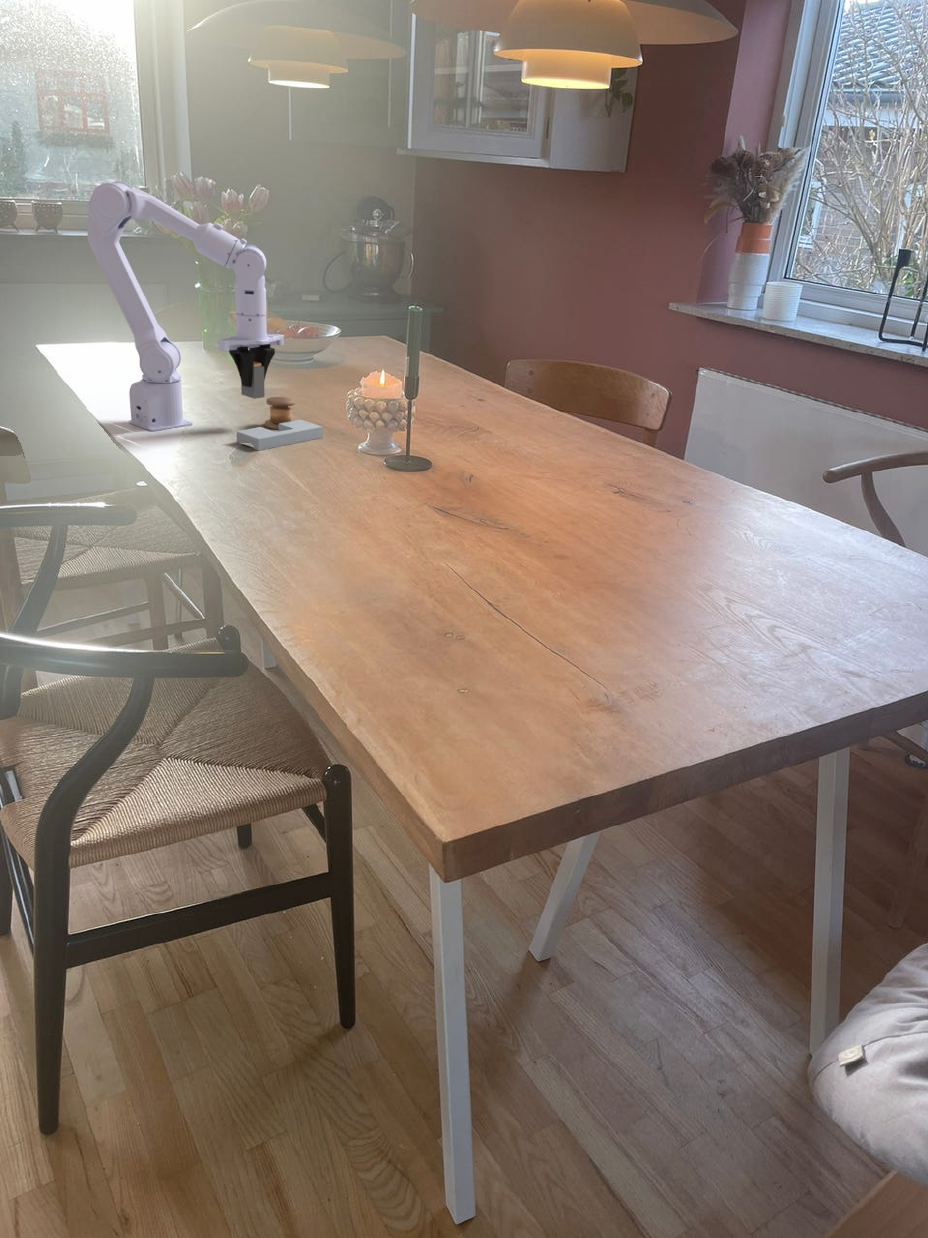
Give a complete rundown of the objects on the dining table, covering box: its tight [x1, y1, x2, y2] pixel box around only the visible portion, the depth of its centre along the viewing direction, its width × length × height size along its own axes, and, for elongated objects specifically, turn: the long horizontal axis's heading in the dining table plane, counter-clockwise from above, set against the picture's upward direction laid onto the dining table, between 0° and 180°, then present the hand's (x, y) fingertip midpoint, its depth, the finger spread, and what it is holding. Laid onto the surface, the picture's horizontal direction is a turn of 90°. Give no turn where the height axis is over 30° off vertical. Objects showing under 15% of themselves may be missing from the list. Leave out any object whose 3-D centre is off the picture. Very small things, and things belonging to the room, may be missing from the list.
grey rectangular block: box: [240, 361, 265, 400], centre depth 186 cm, size 2×4×7 cm, turn 51°
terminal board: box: [236, 419, 324, 452], centre depth 183 cm, size 16×6×2 cm, turn 140°
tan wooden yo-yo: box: [264, 396, 296, 431], centre depth 192 cm, size 6×6×5 cm
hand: (252, 385), depth 187 cm, fingers closed on grey rectangular block, 2 cm apart
